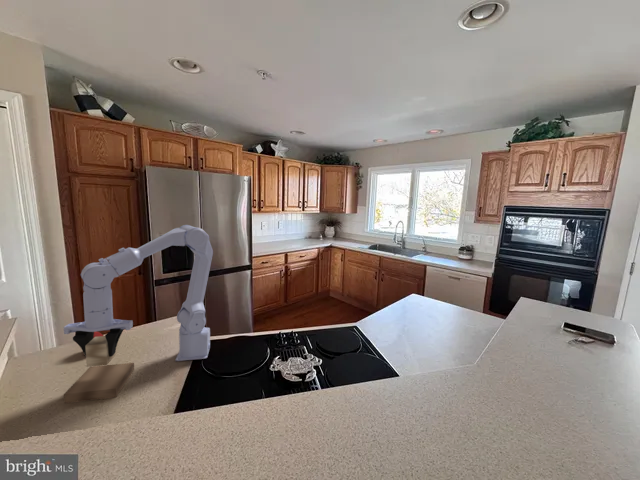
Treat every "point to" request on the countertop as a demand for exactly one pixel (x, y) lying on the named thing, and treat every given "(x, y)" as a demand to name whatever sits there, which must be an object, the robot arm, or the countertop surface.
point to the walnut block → (99, 383)
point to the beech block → (97, 352)
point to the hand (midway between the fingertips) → (101, 355)
